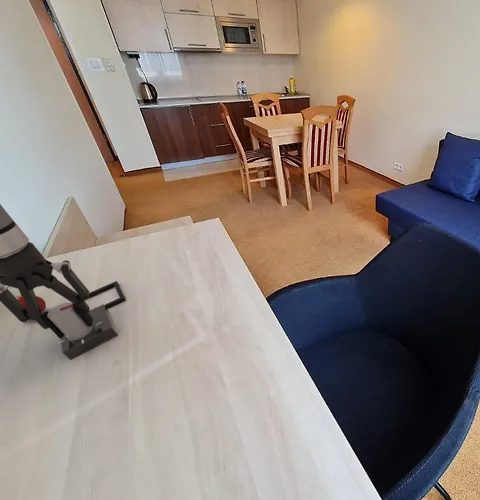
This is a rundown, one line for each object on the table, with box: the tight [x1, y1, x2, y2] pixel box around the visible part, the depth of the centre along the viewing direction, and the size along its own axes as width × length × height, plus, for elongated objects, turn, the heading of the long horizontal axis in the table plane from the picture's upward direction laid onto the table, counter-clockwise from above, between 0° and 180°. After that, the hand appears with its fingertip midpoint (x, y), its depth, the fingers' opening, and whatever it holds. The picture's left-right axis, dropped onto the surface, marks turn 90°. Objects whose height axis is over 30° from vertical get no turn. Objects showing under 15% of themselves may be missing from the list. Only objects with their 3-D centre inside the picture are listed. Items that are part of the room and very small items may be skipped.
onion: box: [16, 294, 47, 313], centre depth 83 cm, size 6×6×8 cm
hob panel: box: [56, 304, 119, 361], centre depth 77 cm, size 13×11×3 cm
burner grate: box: [87, 280, 127, 310], centre depth 88 cm, size 11×11×1 cm
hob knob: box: [47, 301, 93, 341], centre depth 72 cm, size 5×5×8 cm
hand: (76, 328), depth 73 cm, fingers closed on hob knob, 5 cm apart
